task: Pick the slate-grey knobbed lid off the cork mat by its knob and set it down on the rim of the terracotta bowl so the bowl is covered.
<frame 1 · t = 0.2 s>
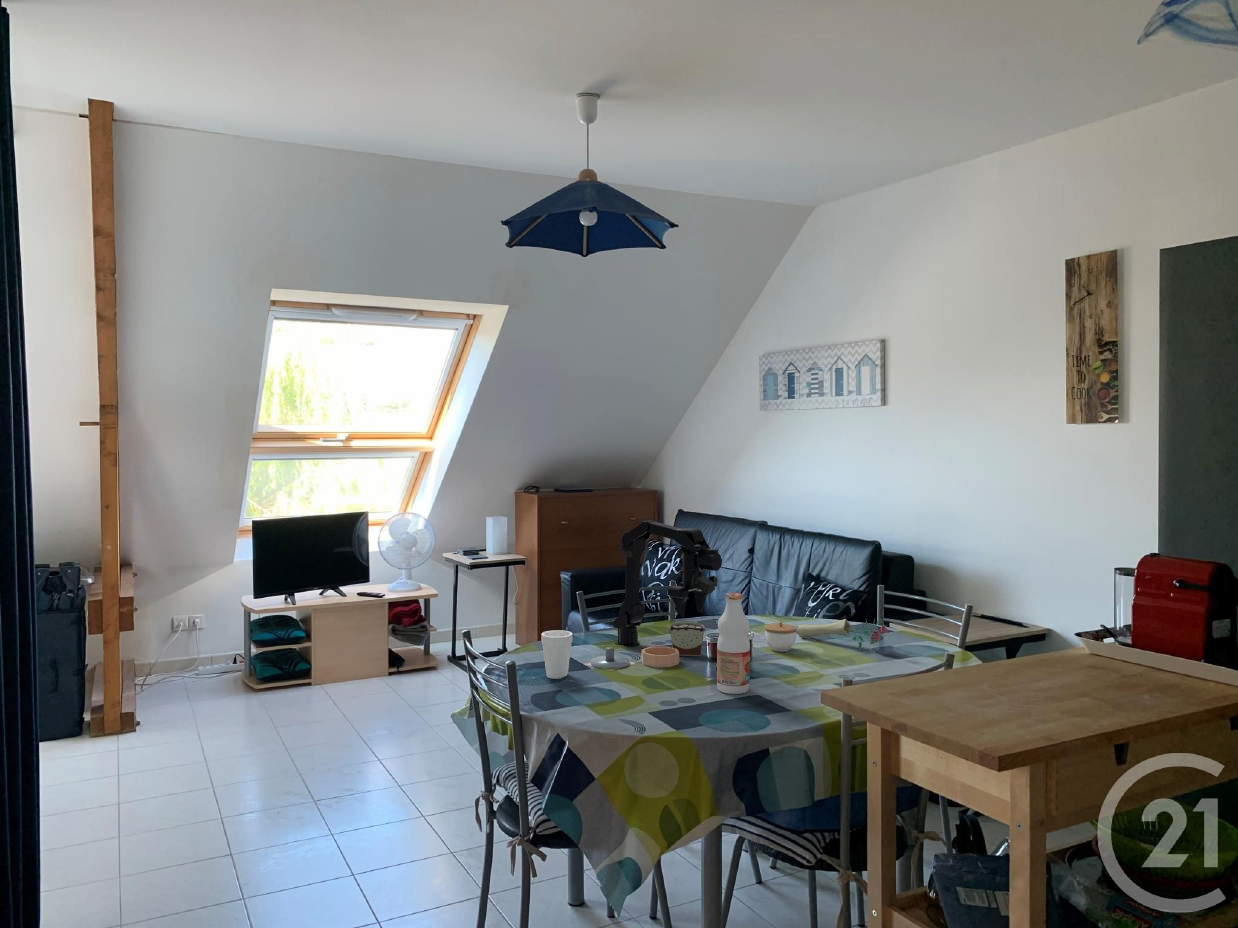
hand: (691, 614, 303), 14 cm above the table, fingers open, 9 cm apart
bowl: (660, 663, 297), on the table
mat: (609, 664, 296), on the table
flower vase: (842, 646, 320), on the table
fruit juice: (733, 690, 269), on the table
food container: (687, 653, 310), on the table
lidded jar: (780, 649, 316), on the table
foam cup: (557, 676, 283), on the table
lid: (609, 663, 296), resting on mat
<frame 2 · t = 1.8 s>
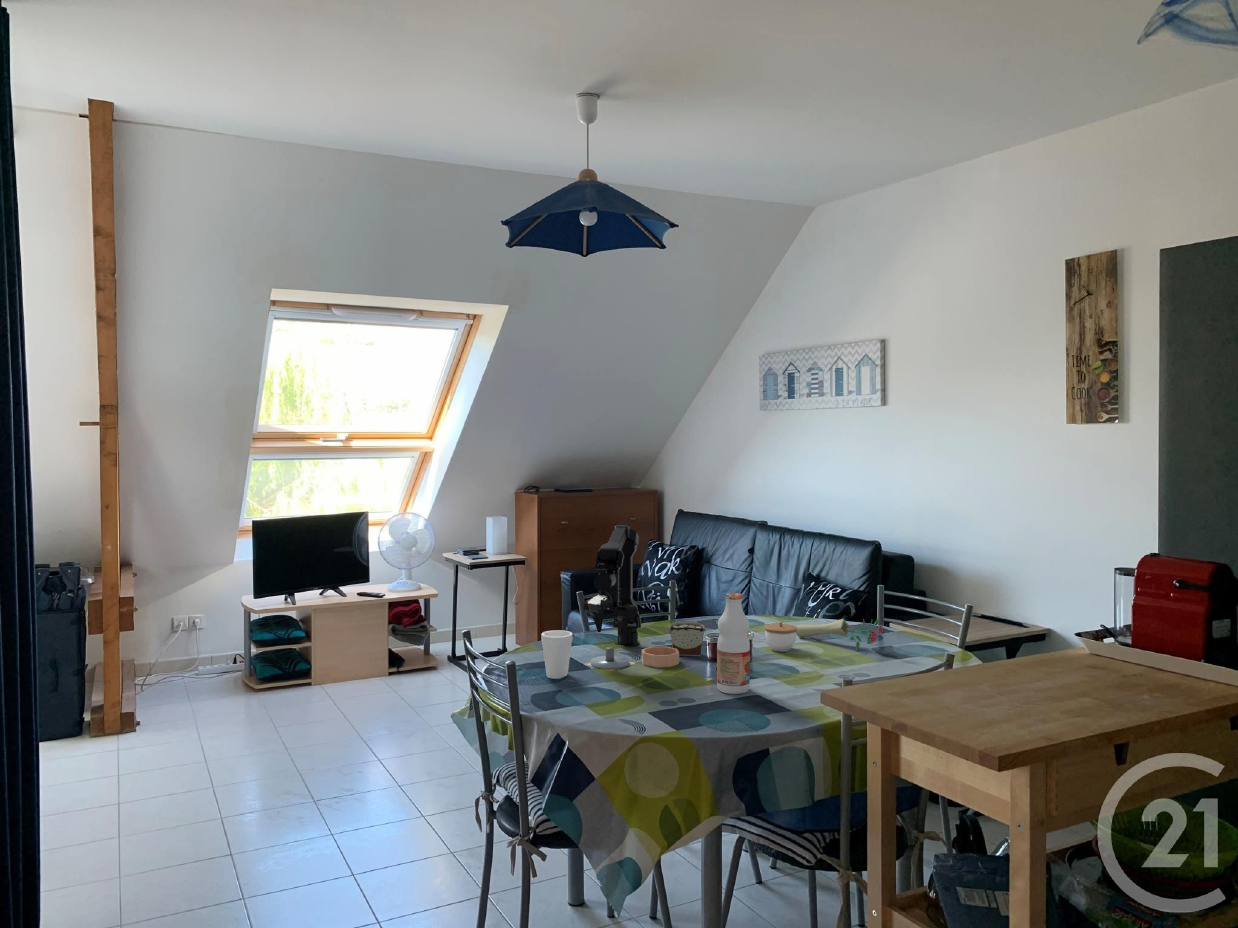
hand: (610, 634, 295), 10 cm above the table, fingers open, 9 cm apart
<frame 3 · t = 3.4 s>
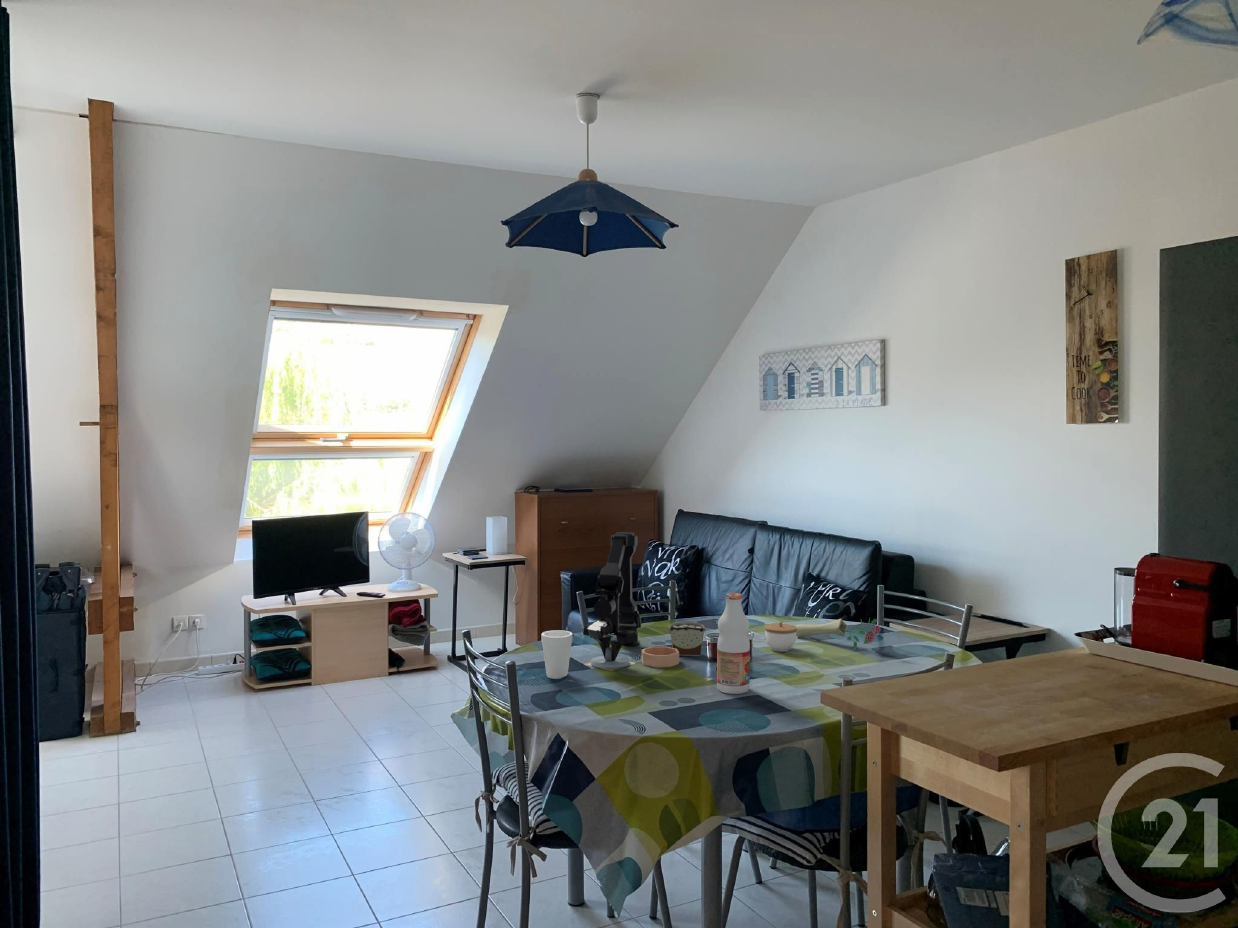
hand: (609, 659, 295), 2 cm above the table, fingers closed on lid, 3 cm apart
lid: (609, 663, 296), resting on mat, touching gripper
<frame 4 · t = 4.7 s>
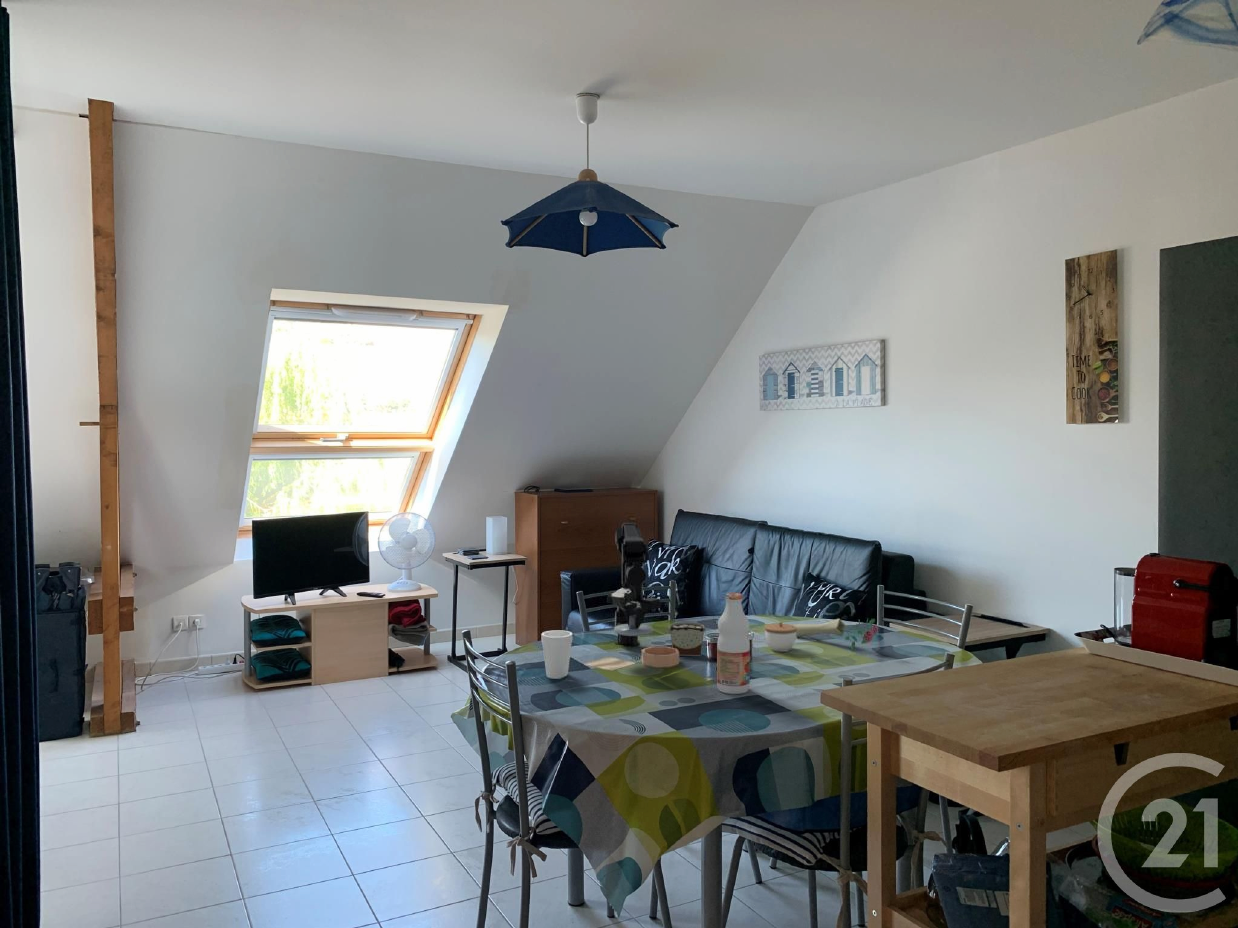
hand: (633, 627, 296), 12 cm above the table, fingers closed on lid, 3 cm apart
lid: (633, 631, 296), point 11 cm above the table, touching gripper
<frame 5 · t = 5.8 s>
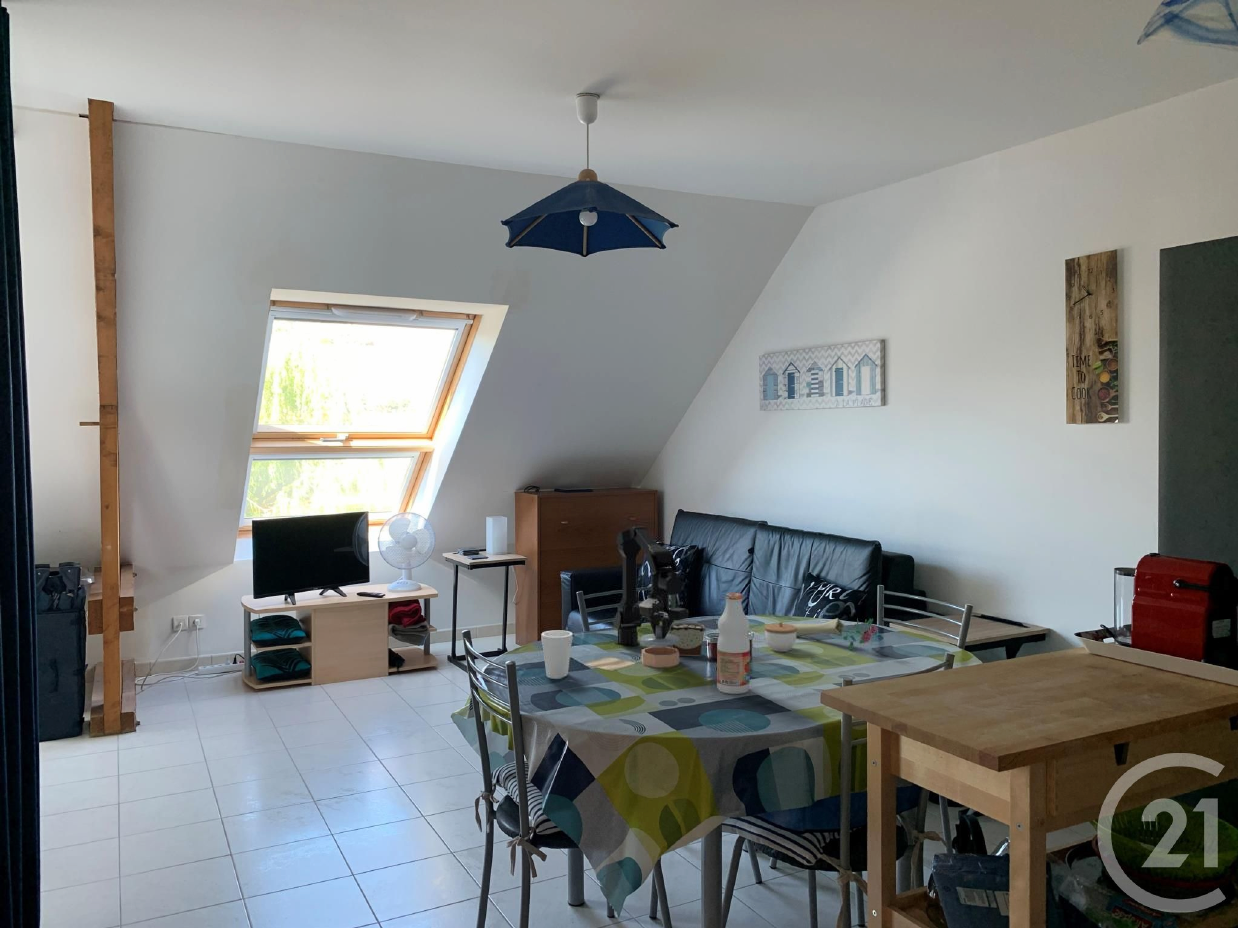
hand: (660, 637, 297), 8 cm above the table, fingers closed on lid, 3 cm apart
lid: (660, 640, 297), point 7 cm above the table, touching gripper
when the fingers open (6 cm above the table, at t = 6.4 s): lid drops 1 cm, resting on bowl.
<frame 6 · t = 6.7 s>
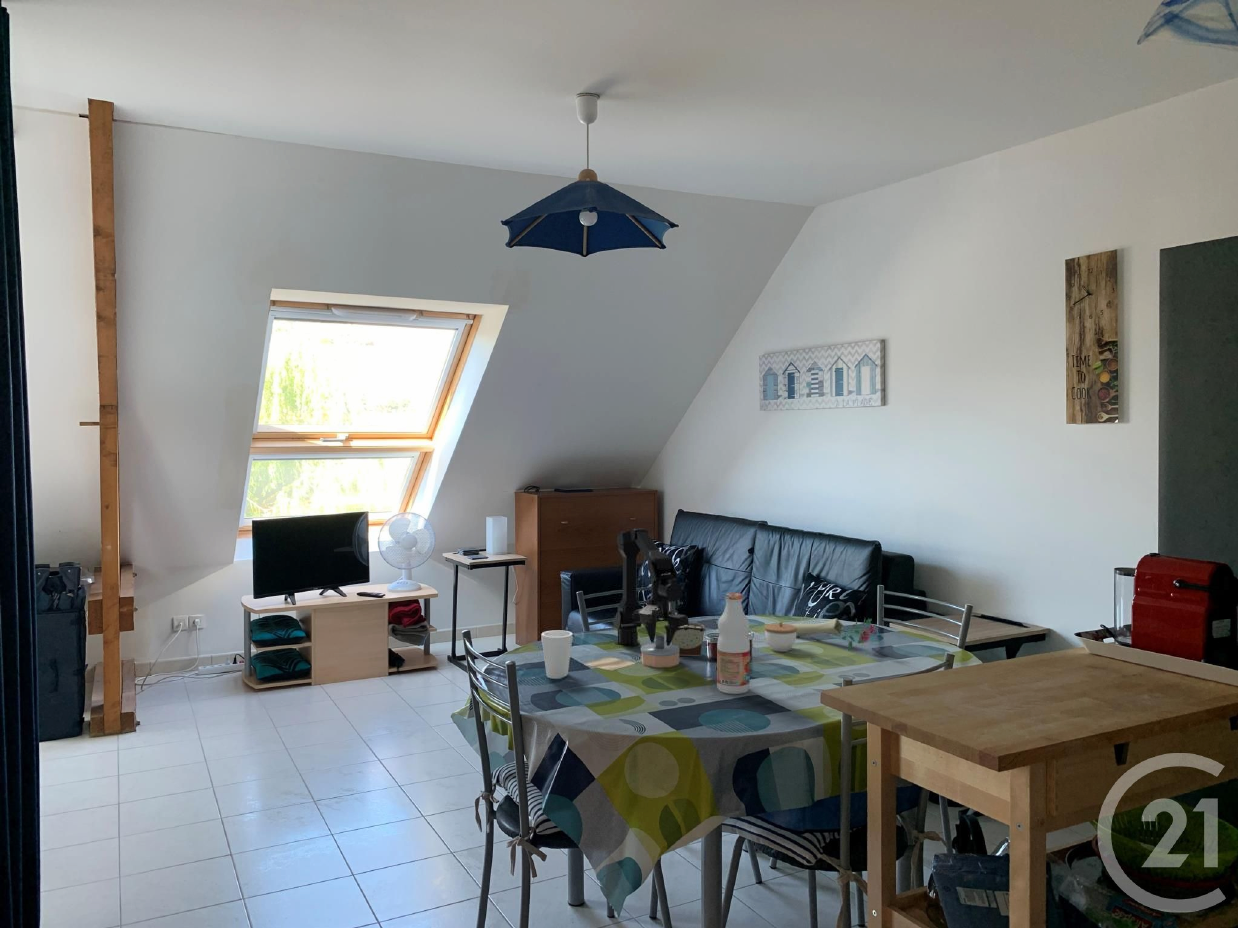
hand: (660, 643, 297), 6 cm above the table, fingers open, 6 cm apart
lid: (660, 650, 297), point 4 cm above the table, touching bowl
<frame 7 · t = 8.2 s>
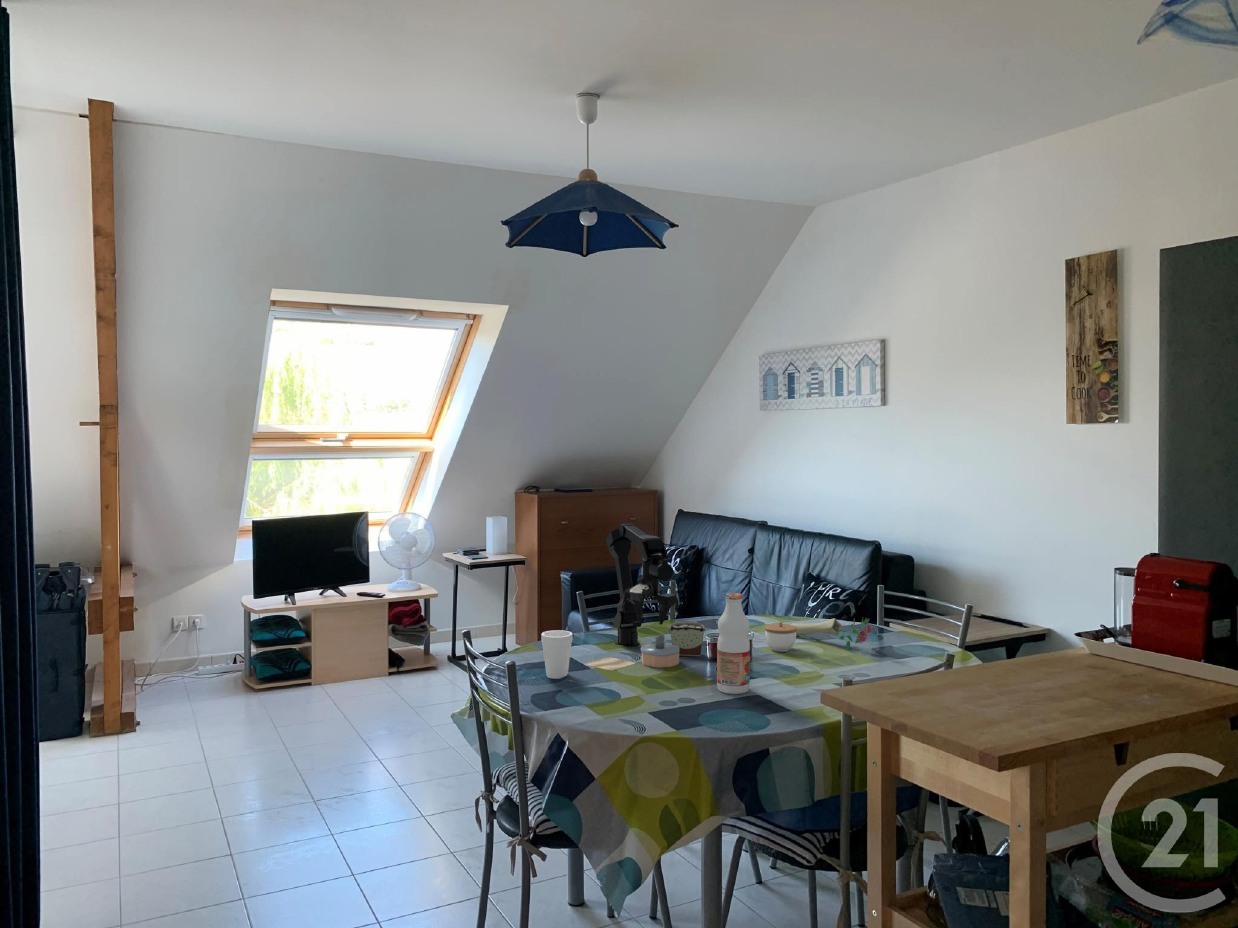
hand: (650, 621, 306), 12 cm above the table, fingers open, 9 cm apart
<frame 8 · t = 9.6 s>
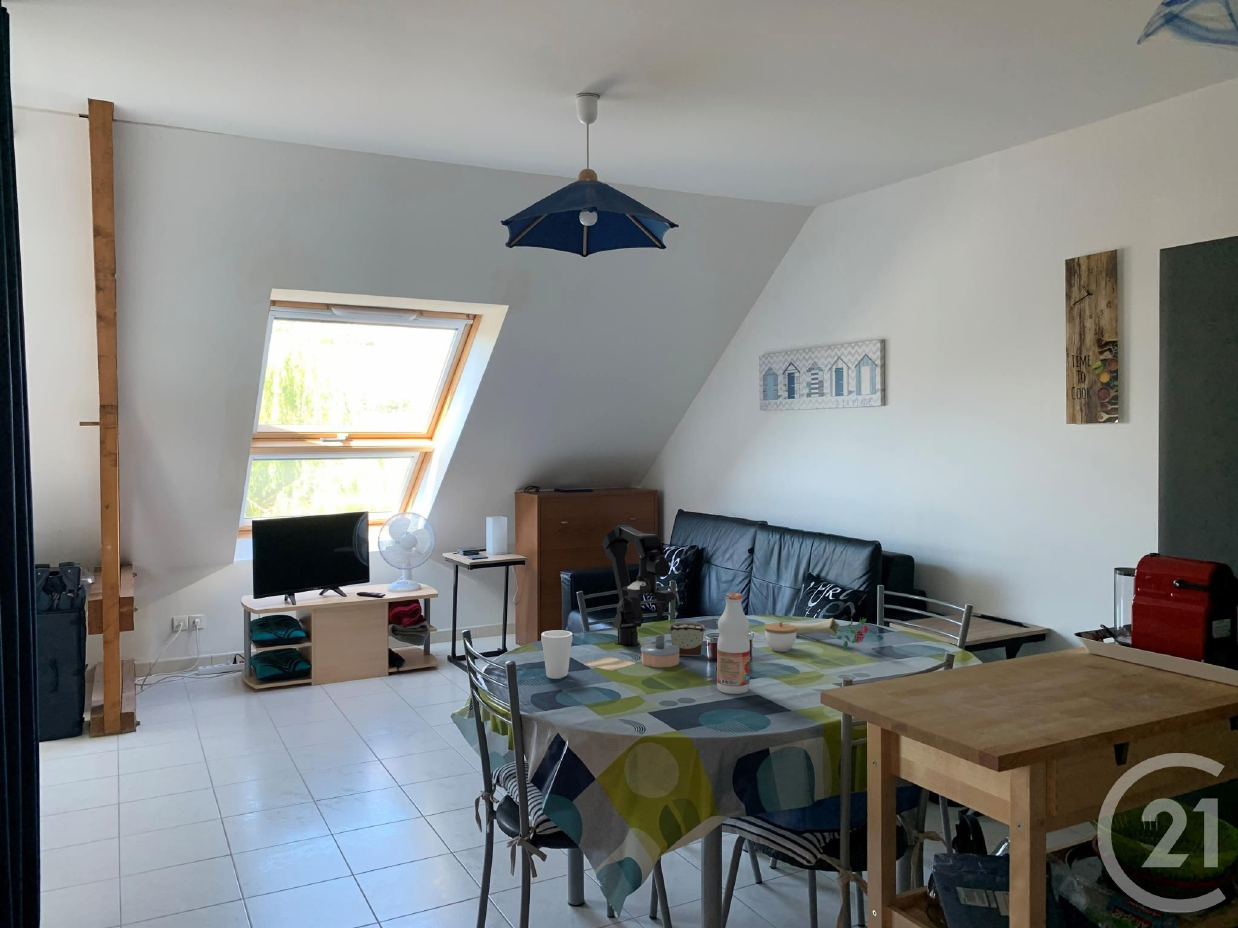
hand: (647, 618, 308), 12 cm above the table, fingers open, 9 cm apart
at the end: lid 0.1 cm from the bowl (horizontally); lid 0.1 cm off-centre on the bowl, point 4.0 cm above the bowl's base; lid tilted 0° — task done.
